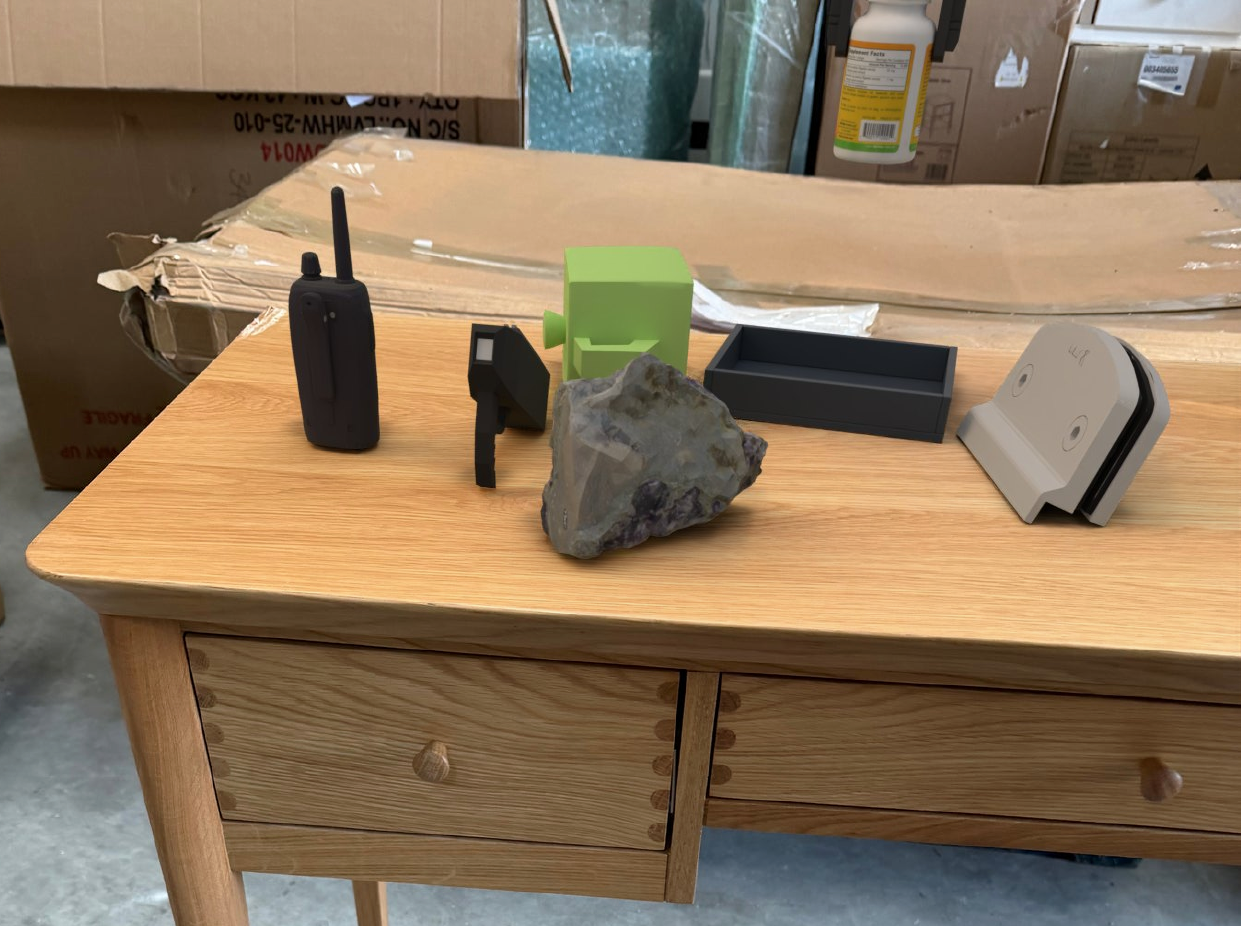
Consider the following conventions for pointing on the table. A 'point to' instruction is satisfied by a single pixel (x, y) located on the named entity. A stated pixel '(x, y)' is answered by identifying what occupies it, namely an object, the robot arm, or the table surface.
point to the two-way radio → (335, 347)
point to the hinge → (1069, 422)
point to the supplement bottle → (885, 82)
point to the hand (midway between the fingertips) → (888, 57)
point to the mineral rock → (641, 458)
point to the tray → (835, 381)
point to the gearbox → (621, 309)
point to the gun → (503, 390)
